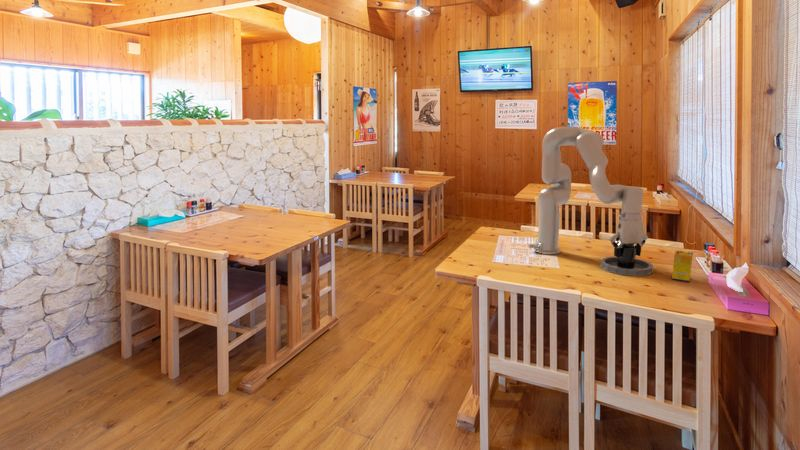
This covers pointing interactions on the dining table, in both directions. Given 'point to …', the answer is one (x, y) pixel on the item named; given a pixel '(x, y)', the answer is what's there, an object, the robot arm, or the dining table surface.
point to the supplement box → (682, 266)
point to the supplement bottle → (627, 256)
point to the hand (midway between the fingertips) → (627, 255)
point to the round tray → (639, 270)
